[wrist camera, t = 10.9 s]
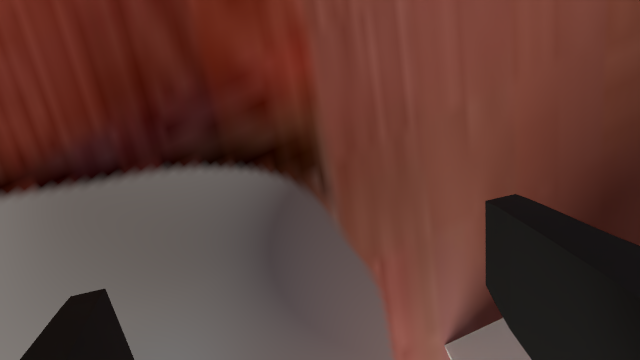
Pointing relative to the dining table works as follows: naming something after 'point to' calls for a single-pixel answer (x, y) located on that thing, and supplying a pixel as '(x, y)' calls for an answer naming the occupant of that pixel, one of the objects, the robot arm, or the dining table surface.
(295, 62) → the dining table surface
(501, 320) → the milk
